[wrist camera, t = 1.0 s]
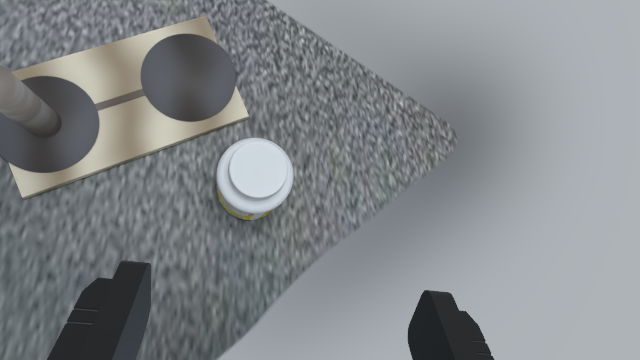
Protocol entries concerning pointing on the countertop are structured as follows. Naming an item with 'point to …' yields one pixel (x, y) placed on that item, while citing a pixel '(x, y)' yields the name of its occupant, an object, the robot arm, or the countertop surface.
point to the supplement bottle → (253, 178)
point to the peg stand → (114, 104)
